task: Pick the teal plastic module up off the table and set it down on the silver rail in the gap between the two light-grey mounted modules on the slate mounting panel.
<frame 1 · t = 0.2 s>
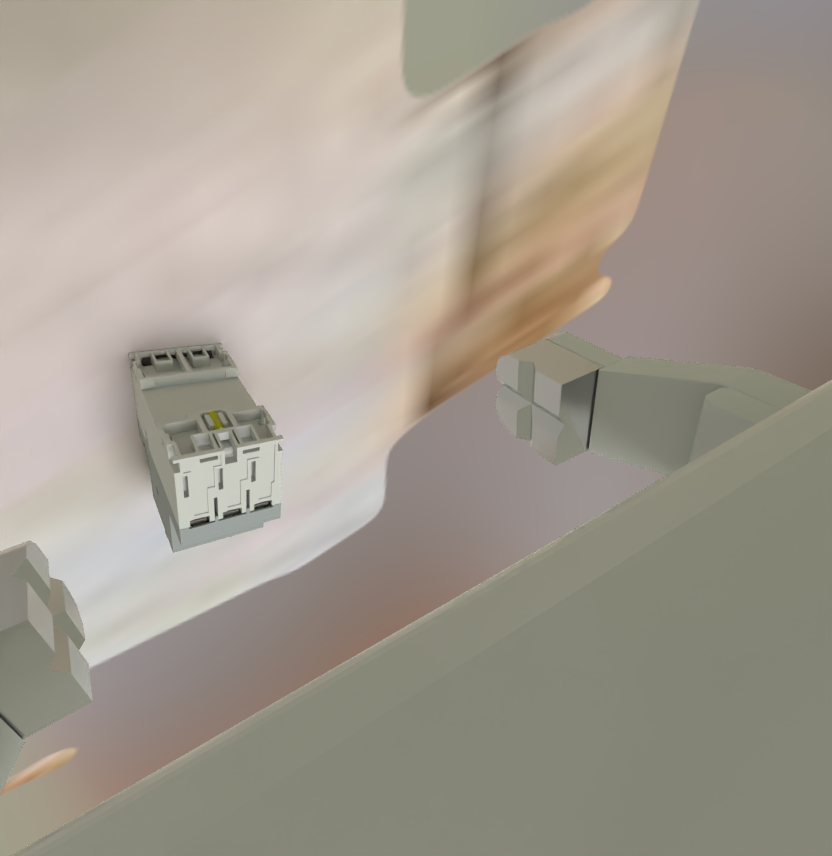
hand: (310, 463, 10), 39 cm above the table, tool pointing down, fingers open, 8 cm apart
circuit breaker: (181, 415, 52), on the table
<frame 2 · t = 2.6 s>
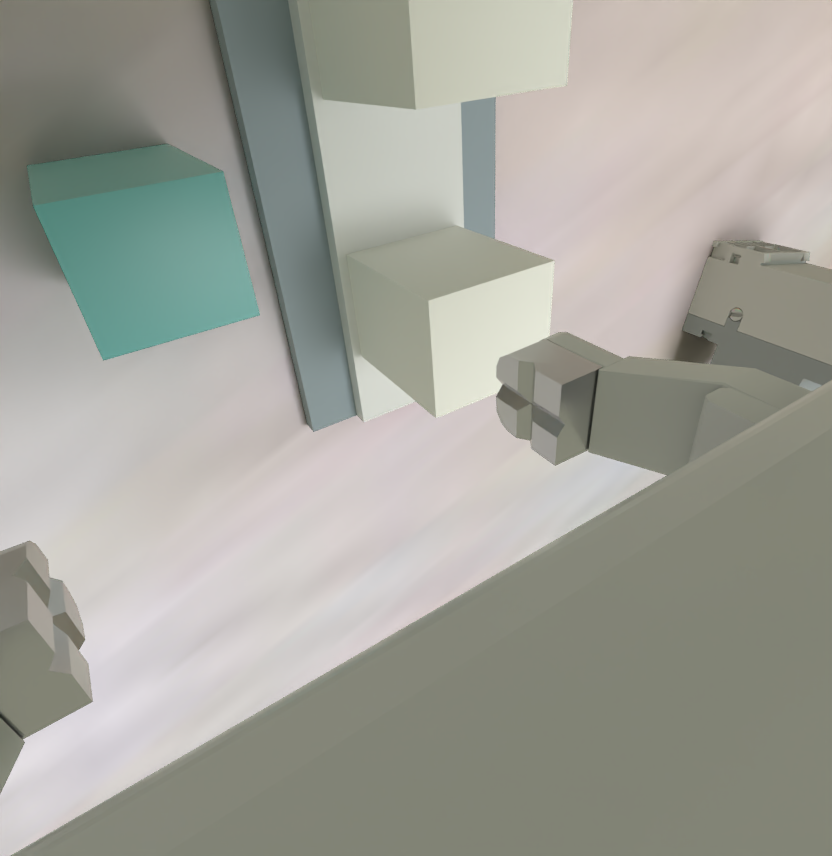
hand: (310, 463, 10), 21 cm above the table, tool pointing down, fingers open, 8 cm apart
circuit breaker: (707, 316, 54), on the table
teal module: (123, 215, 25), on the table
mounting panel: (379, 165, 30), on the table
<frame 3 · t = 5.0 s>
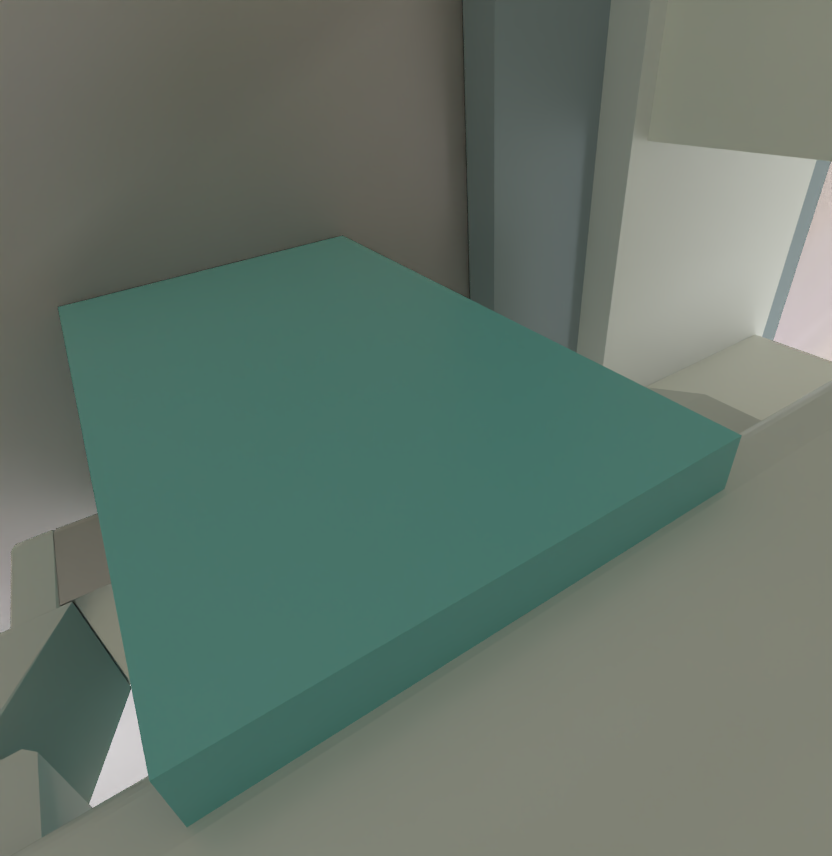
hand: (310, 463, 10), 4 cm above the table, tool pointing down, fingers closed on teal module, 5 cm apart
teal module: (247, 379, 12), on the table, touching gripper
mounting panel: (654, 242, 17), on the table
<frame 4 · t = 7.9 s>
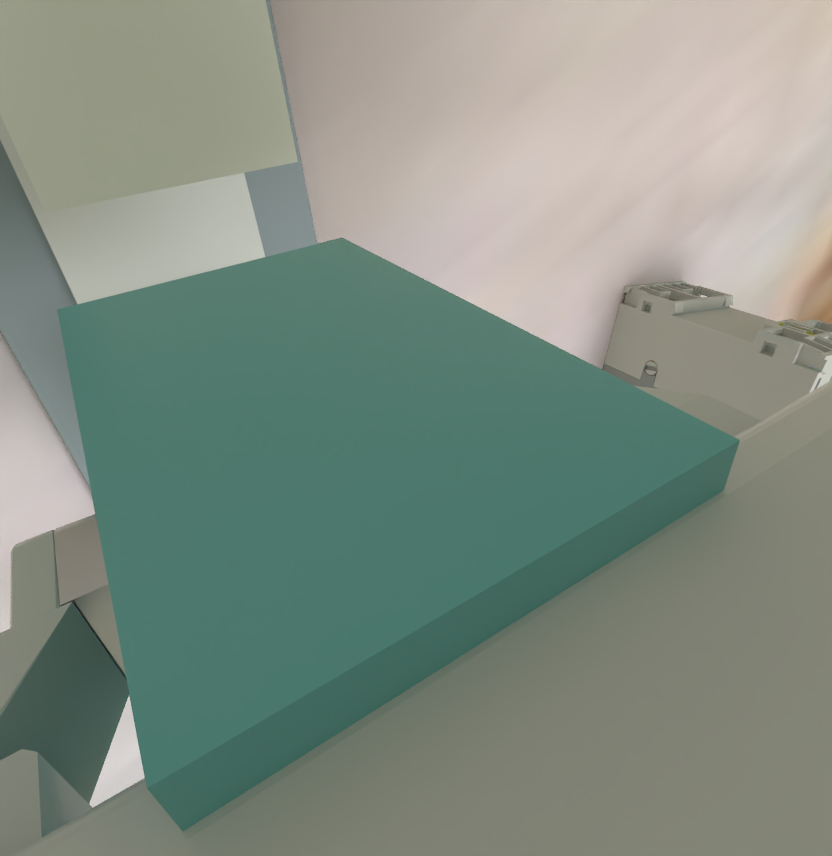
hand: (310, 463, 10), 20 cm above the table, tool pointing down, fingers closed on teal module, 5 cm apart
circuit breaker: (629, 363, 49), on the table
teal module: (246, 381, 12), point 17 cm above the table, touching gripper
mounting panel: (157, 240, 25), on the table
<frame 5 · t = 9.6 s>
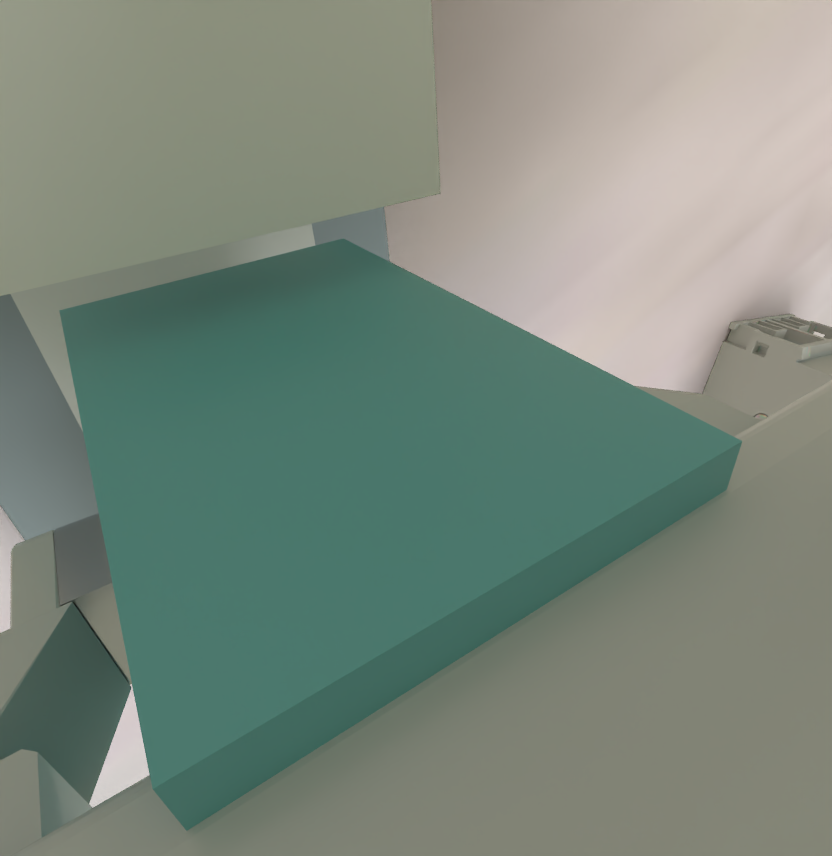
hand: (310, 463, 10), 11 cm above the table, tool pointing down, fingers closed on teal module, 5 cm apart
circuit breaker: (720, 408, 42), on the table
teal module: (248, 381, 12), point 7 cm above the table, touching gripper
mounting panel: (176, 280, 17), on the table
when the fingers open (7 cm above the table, at t = 10.8 s): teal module drops 1 cm, resting on mounting panel.
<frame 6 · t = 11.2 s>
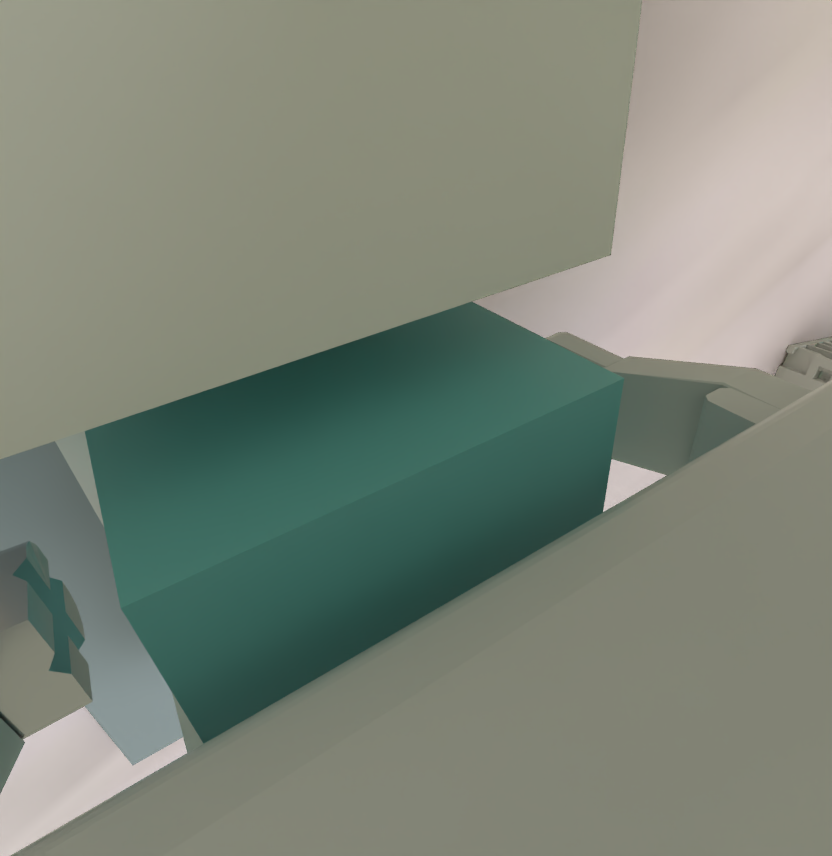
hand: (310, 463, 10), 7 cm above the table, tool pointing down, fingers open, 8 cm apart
circuit breaker: (769, 434, 39), on the table
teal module: (229, 356, 13), point 2 cm above the table, touching mounting panel
mounting panel: (206, 328, 15), on the table
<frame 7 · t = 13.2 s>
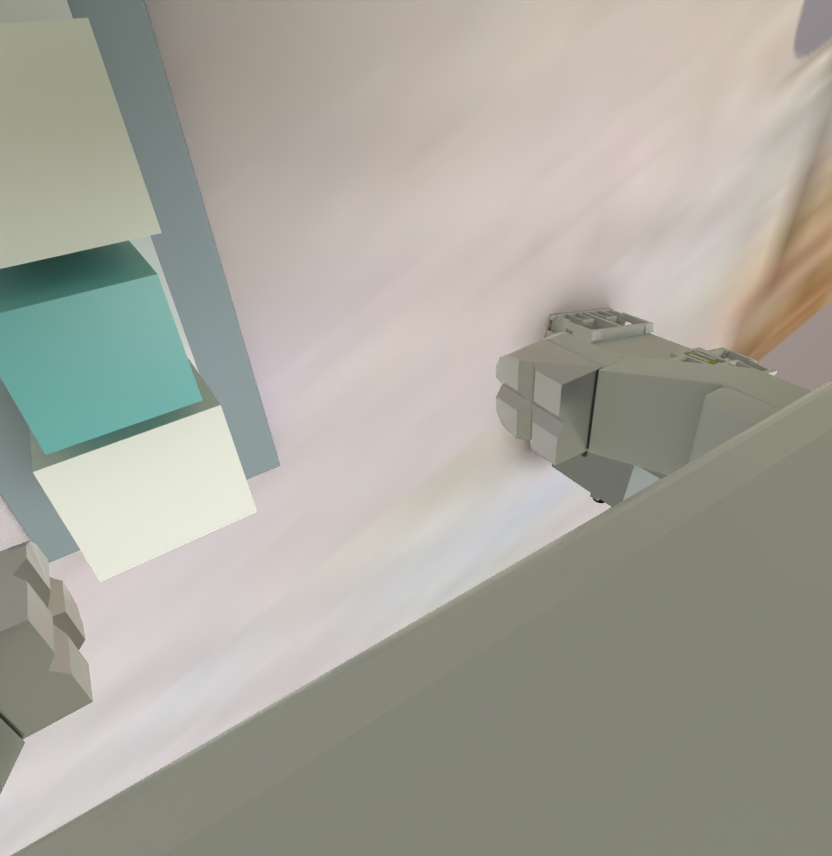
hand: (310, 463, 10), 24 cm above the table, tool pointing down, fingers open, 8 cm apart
circuit breaker: (562, 386, 51), on the table
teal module: (76, 296, 26), point 2 cm above the table, touching mounting panel
mounting panel: (71, 285, 27), on the table
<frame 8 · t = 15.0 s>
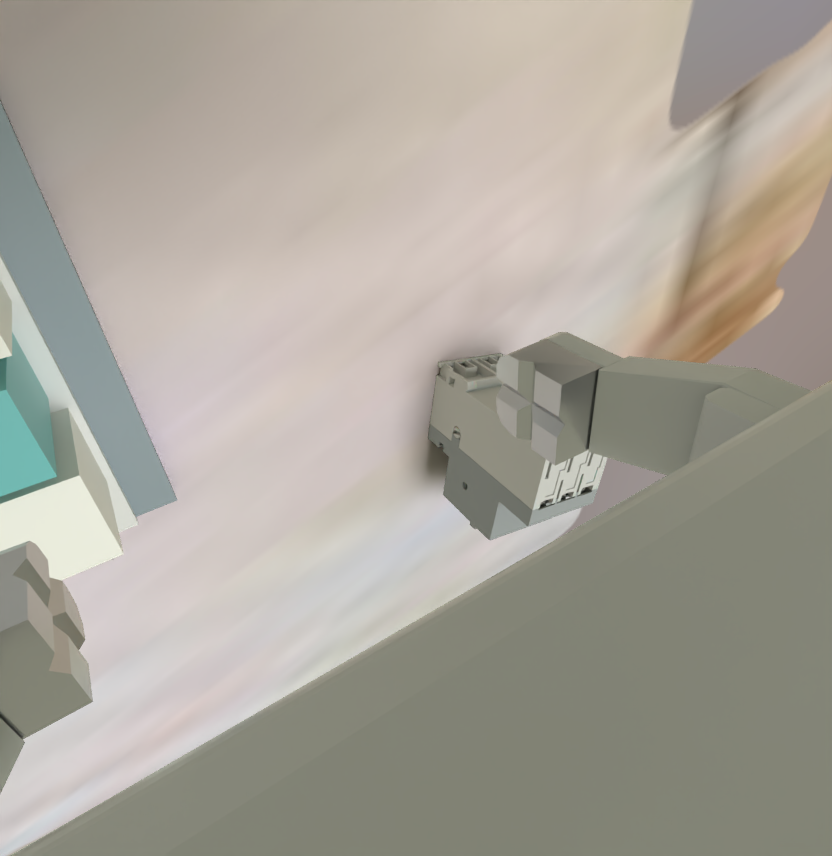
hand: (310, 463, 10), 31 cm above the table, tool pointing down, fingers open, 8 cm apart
circuit breaker: (458, 421, 57), on the table
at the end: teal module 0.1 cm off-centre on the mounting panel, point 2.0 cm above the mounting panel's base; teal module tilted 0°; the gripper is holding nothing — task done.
